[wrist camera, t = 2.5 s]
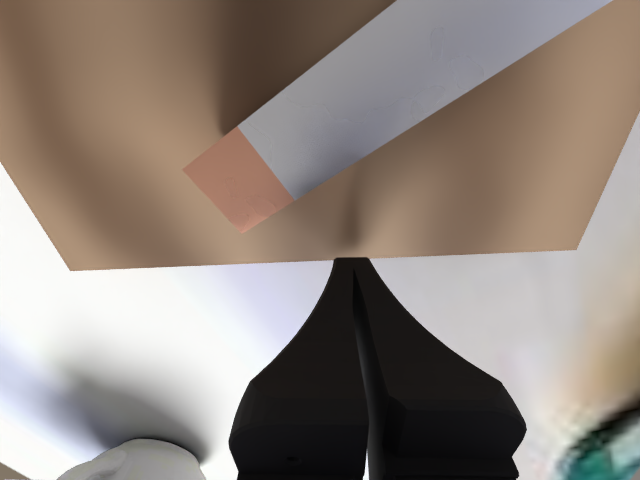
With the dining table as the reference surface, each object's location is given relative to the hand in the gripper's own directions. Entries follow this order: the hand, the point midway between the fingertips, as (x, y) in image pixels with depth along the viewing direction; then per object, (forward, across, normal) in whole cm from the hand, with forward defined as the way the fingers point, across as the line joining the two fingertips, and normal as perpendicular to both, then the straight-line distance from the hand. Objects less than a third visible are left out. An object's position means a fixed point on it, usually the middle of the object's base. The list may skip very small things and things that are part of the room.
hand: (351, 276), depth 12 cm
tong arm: (+1, -1, -7) cm, 8 cm away
